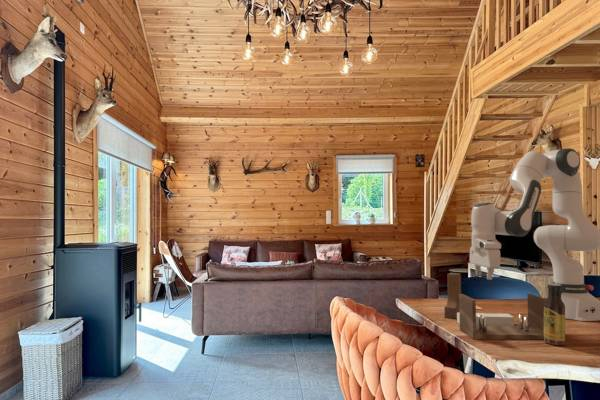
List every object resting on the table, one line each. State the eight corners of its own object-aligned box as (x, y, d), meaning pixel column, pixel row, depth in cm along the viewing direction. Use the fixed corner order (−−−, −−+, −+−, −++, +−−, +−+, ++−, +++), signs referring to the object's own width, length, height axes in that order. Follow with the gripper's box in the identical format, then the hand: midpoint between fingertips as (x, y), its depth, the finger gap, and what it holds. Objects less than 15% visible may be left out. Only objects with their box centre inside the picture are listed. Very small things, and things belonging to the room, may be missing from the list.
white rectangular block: (508, 323, 169) (508, 313, 169) (514, 327, 163) (514, 317, 163) (457, 322, 171) (456, 312, 171) (461, 326, 165) (461, 315, 165)
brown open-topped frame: (531, 329, 158) (530, 293, 158) (550, 339, 146) (549, 300, 146) (459, 329, 158) (459, 293, 158) (472, 339, 146) (472, 300, 146)
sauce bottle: (539, 340, 144) (538, 282, 145) (556, 340, 144) (555, 282, 145) (552, 346, 137) (551, 285, 138) (570, 346, 138) (569, 285, 139)
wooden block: (455, 319, 175) (454, 275, 176) (444, 317, 178) (443, 274, 178) (461, 315, 182) (460, 273, 183) (451, 313, 185) (450, 272, 185)
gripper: (465, 241, 179) (465, 274, 178) (486, 244, 158) (487, 281, 157) (480, 241, 179) (480, 274, 178) (503, 244, 158) (504, 281, 157)
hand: (483, 277), depth 168 cm, fingers open, 8 cm apart
